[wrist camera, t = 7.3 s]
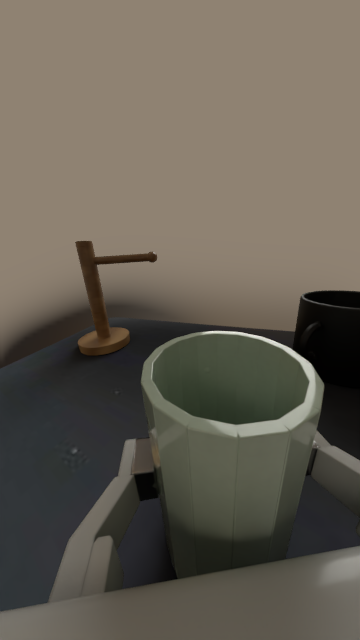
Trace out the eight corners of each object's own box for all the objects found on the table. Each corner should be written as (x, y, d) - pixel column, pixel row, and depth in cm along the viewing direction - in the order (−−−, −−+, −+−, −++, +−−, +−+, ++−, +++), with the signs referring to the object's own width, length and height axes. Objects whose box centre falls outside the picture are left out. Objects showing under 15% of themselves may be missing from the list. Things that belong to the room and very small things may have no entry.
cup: (311, 611, 8) (390, 418, 4) (169, 640, 8) (127, 454, 4) (230, 418, 18) (234, 307, 14) (165, 427, 17) (151, 314, 14)
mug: (262, 362, 26) (268, 299, 23) (318, 342, 30) (329, 287, 27) (339, 410, 18) (365, 321, 15) (401, 374, 22) (431, 299, 19)
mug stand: (70, 358, 31) (35, 241, 25) (90, 336, 39) (68, 245, 33) (165, 348, 32) (154, 234, 26) (164, 329, 40) (156, 239, 34)
